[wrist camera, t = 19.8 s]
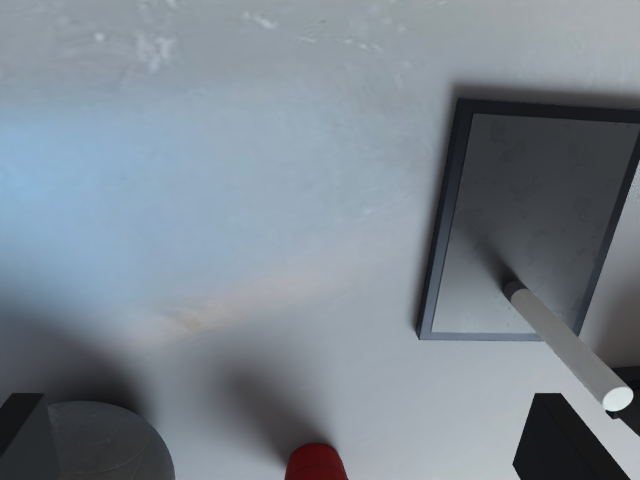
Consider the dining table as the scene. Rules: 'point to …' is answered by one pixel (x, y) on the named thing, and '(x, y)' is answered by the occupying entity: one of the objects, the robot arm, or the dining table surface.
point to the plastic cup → (315, 464)
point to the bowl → (107, 443)
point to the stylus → (570, 349)
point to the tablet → (525, 214)
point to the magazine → (636, 413)
